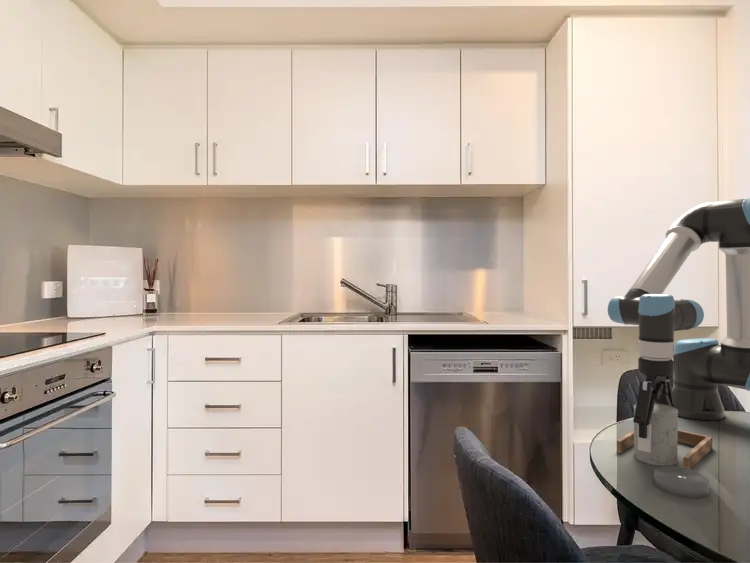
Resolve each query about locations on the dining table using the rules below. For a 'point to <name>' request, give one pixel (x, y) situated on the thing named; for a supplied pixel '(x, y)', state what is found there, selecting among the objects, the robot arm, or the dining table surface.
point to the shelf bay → (691, 458)
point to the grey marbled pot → (660, 437)
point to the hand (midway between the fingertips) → (654, 443)
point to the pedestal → (681, 482)
